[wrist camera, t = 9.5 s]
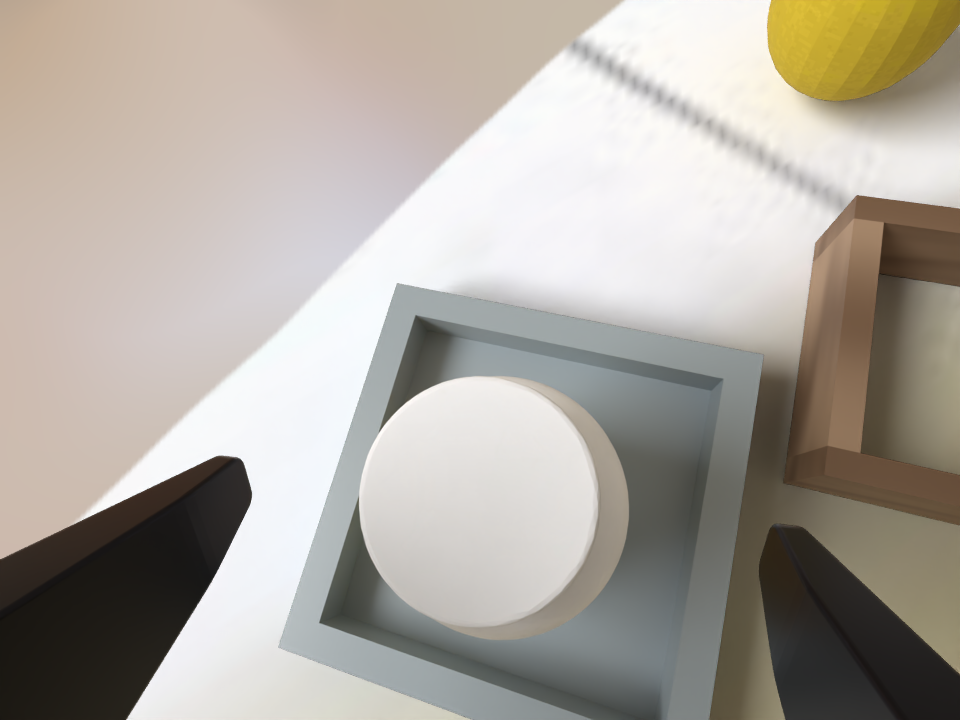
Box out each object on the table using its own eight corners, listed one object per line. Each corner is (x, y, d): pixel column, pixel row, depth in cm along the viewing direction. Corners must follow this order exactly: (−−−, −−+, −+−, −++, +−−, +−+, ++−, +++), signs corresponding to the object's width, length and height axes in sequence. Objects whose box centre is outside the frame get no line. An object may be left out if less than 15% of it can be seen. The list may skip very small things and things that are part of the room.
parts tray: (680, 765, 16) (696, 802, 14) (310, 633, 19) (277, 647, 16) (742, 373, 19) (763, 355, 17) (413, 306, 21) (397, 283, 19)
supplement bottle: (603, 421, 18) (633, 322, 9) (616, 597, 17) (669, 687, 8) (444, 428, 19) (325, 343, 10) (443, 596, 18) (303, 678, 8)
